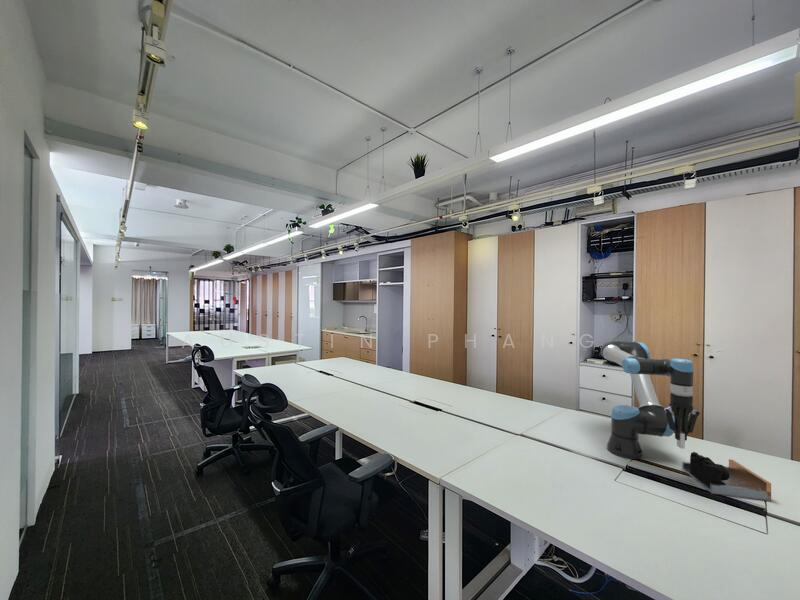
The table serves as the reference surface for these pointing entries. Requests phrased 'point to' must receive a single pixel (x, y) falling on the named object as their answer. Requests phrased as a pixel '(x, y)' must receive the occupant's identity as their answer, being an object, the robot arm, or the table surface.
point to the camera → (707, 469)
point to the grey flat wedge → (737, 483)
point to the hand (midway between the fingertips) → (680, 447)
